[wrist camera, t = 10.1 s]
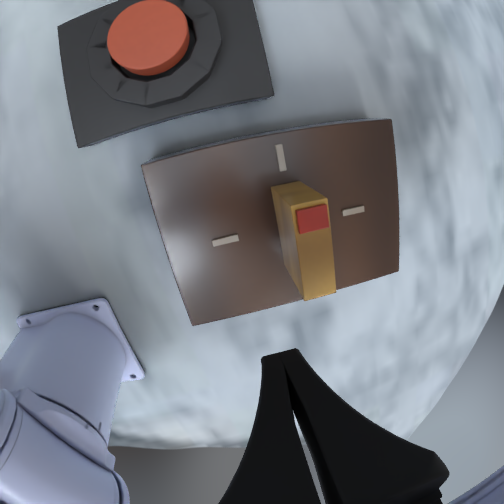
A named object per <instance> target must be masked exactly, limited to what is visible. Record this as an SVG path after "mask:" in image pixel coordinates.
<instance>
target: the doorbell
mask: <svg viewBox="0 0 504 504" xmlns="http://www.w3.org/2000/svg"><path fill="white" fill-rule="evenodd" d="M140 1H144V0H118V1H117V2H114V3H111V4H108V5H106V6H103V7H101V8H98V9H96V10H93V11H91V12H88V13H86V14H84V15H81V16H79V17H77V18H75V19H72V20H70V21H68V22H66V23H64V24H62V25H60V26H58V37H59V46H60V55H61V62H62V70H63V76H64V83H65V89H66V94H67V100H68V105H69V110H70V115H71V120H72V124H73V129H74V133H75V138H76V142H77V146H78V148H82V147H86V146H91V145H94V144H97V143H100V142H102V141H105V140H108V139H111V138H114V137H117V136H119V135H122V134H125V133H128V132H132V131H135V130H138V129H141V128H144V127H148V126H151V125H154V124H158V123H161V122H165V121H168V120H172V119H176V118H179V117H183V116H187V115H191V114H195V113H200V112H204V111H208V110H213V109H217V108H222V107H227V106H232V105H237V104H242V103H247V102H253V101H259V100H265V99H268V98H270V97H272V96H274V92H273V87H272V82H271V77H270V73H269V68H268V63H267V59H266V54H265V50H264V46H263V41H262V37H261V33H260V29H259V24H258V20H257V16H256V12H255V8H254V4H253V0H165V1H168V2H171V3H173V4H175V5H176V6H177V7H179V8H180V9H181V10H182V12H183V13H184V15H185V17H186V20H187V23H188V29H189V36H190V39H189V46H188V49H187V51H186V53H185V55H184V56H183V58H182V59H181V60H180V61H179V62H178V63H177V64H176V65H175V66H174V67H172V68H171V69H169V70H167V71H165V72H163V73H160V74H156V75H150V76H143V75H137V74H134V73H132V72H130V71H128V70H127V69H125V68H124V67H122V66H121V65H119V64H118V63H117V62H116V61H115V60H114V59H113V58H112V56H111V55H110V53H109V50H108V46H107V37H108V32H109V29H110V27H111V25H112V23H113V21H114V20H115V19H116V17H117V16H118V15H119V14H120V13H121V12H122V11H124V10H125V9H126V8H128V7H129V6H131V5H133V4H135V3H138V2H140Z"/></svg>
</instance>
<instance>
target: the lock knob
mask: <svg viewBox="0 0 504 504" xmlns="http://www.w3.org/2000/svg"><path fill="white" fill-rule="evenodd" d="M271 191H272V197H273V202H274V208H275V213H276V219H277V224H278V230H279V236H280V242H281V247H282V253H283V259H284V265H285V267H286V268H287V270H288V272H289V274H290V276H291V277H292V279H293V281H294V283H295V285H296V286H297V288H298V290H299V292H300V294H301V295H302V297H303V299H304V301H307V300H311V299H314V298H318V297H322V296H325V295H329V294H332V293H336V281H335V268H334V256H333V245H332V235H331V225H330V216H329V208H328V199H327V198H326V197H325V196H323V195H322V194H320V193H318V192H317V191H315V190H314V189H312V188H310V187H309V186H307V185H305V184H304V183H302V182H300V181H297V182H292V183H287V184H282V185H277V186H273V187H271Z"/></svg>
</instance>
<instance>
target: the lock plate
mask: <svg viewBox="0 0 504 504" xmlns="http://www.w3.org/2000/svg"><path fill="white" fill-rule="evenodd" d="M141 168H142V172H143V175H144V179H145V183H146V186H147V190H148V193H149V197H150V200H151V204H152V207H153V211H154V214H155V217H156V221H157V224H158V227H159V231H160V234H161V237H162V240H163V243H164V246H165V250H166V253H167V256H168V259H169V262H170V265H171V268H172V271H173V274H174V277H175V279H176V282H177V285H178V288H179V291H180V294H181V296H182V299H183V302H184V305H185V308H186V310H187V313H188V316H189V318H190V321H191V324H192V326H195V325H200V324H204V323H209V322H213V321H218V320H222V319H226V318H231V317H235V316H239V315H243V314H247V313H252V312H256V311H260V310H264V309H268V308H272V307H276V306H279V305H283V304H287V303H291V302H295V301H299V300H302V299H303V297H302V295H301V294H300V292H299V290H298V288H297V286H296V285H295V283H294V281H293V279H292V277H291V276H290V274H289V272H288V270H287V268H286V267H285V265H284V259H283V253H282V247H281V242H280V236H279V230H278V224H277V219H276V213H275V208H274V202H273V197H272V191H271V187H273V186H277V185H282V184H287V183H292V182H297V181H300V182H302V183H304V184H305V185H307V186H309V187H310V188H312V189H314V190H315V191H317V192H318V193H320V194H322V195H323V196H325V197H326V198H327V199H328V208H329V216H330V225H331V235H332V245H333V256H334V268H335V281H336V290H338V289H342V288H345V287H349V286H352V285H355V284H359V283H362V282H365V281H369V280H372V279H375V278H378V277H382V276H385V275H388V274H391V273H394V272H398V271H399V199H398V180H397V166H396V154H395V144H394V135H393V127H392V120H391V119H380V118H365V119H354V120H345V121H336V122H328V123H320V124H313V125H306V126H299V127H293V128H287V129H281V130H275V131H269V132H264V133H258V134H253V135H248V136H243V137H238V138H234V139H229V140H224V141H220V142H215V143H211V144H207V145H203V146H199V147H195V148H191V149H187V150H183V151H179V152H175V153H172V154H168V155H164V156H161V157H157V158H154V159H151V160H149V161H148V162H146V163H144V164H142V165H141Z"/></svg>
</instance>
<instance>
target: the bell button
mask: <svg viewBox="0 0 504 504" xmlns="http://www.w3.org/2000/svg"><path fill="white" fill-rule="evenodd" d="M189 39H190V36H189V29H188V23H187V20H186V17H185V15H184V13H183V12H182V10H181V9H180V8H179V7H177V6H176V5H175V4H173V3H171V2H168V1H165V0H144V1H140V2H138V3H135V4H133V5H131V6H129V7H128V8H126V9H125V10H124V11H122V12H121V13H120V14H119V15H118V16H117V17H116V19H115V20H114V21H113V23H112V25H111V27H110V29H109V32H108V37H107V46H108V50H109V53H110V55H111V56H112V58H113V59H114V60H115V61H116V62H117V63H118V64H119V65H121V66H122V67H124V68H125V69H127V70H128V71H130V72H132V73H134V74H137V75H143V76H150V75H156V74H160V73H163V72H165V71H167V70H169V69H171V68H172V67H174V66H175V65H176V64H177V63H178V62H179V61H180V60H181V59H182V58H183V56H184V55H185V53H186V51H187V49H188V46H189Z"/></svg>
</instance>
